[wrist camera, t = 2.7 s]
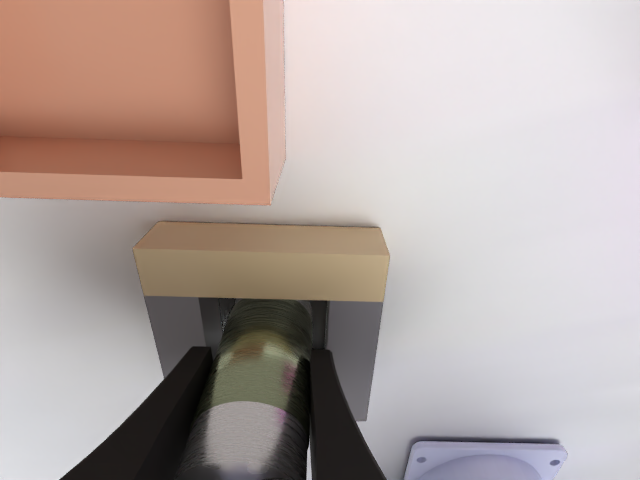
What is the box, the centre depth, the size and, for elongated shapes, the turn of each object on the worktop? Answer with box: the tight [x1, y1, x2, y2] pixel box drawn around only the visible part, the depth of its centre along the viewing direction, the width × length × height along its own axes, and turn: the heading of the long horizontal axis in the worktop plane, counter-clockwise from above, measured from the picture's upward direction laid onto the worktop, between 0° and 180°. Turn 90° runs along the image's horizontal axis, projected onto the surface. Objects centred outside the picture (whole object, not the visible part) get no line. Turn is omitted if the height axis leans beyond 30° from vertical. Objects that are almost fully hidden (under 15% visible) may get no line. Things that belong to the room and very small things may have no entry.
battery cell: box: [174, 298, 313, 480], centre depth 11 cm, size 3×3×8 cm
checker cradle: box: [132, 221, 390, 421], centre depth 14 cm, size 8×8×2 cm
